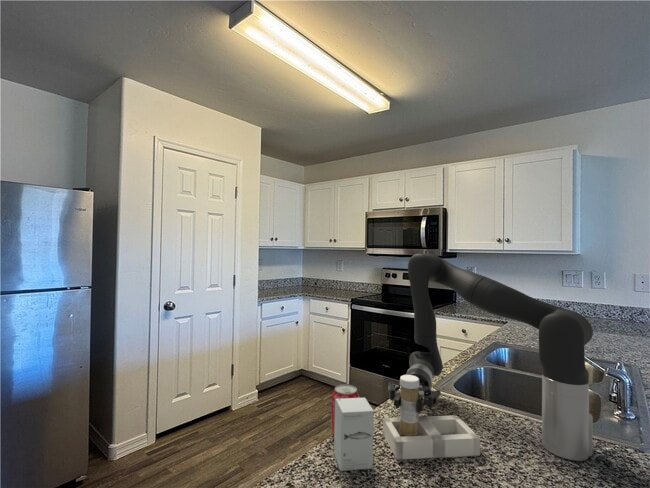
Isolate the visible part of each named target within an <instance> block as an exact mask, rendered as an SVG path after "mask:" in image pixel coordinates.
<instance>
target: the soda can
mask: <svg viewBox="0 0 650 488" xmlns="http://www.w3.org/2000/svg"><path fill="white" fill-rule="evenodd" d="M343 398H360V394H359V393H358V388H357V387H356V386H354V385H352V384H346V383H345V384H342V383H341V384H338V385H336V386H335V387H334V391H333V393H332V396H331V422H330V423H331V435H332V436H333V435H334V430H335V399H343Z"/></svg>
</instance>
